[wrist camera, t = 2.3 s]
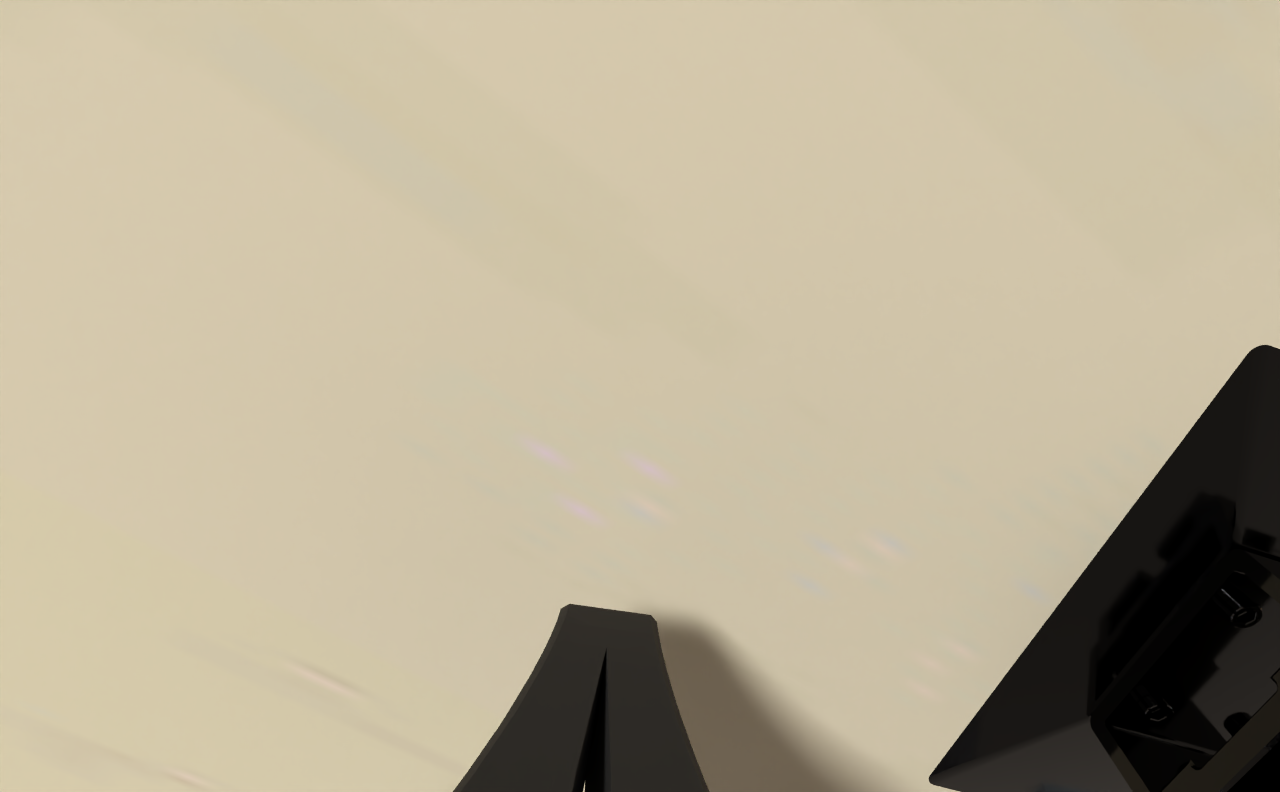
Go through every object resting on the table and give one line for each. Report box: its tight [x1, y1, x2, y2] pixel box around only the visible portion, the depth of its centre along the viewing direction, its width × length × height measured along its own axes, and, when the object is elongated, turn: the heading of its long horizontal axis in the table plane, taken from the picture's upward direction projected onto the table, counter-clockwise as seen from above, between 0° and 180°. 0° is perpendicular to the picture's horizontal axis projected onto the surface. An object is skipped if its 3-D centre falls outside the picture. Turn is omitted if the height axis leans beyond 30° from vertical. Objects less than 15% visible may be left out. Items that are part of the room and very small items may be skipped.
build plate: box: [929, 345, 1280, 792], centre depth 11 cm, size 13×8×5 cm, turn 162°
